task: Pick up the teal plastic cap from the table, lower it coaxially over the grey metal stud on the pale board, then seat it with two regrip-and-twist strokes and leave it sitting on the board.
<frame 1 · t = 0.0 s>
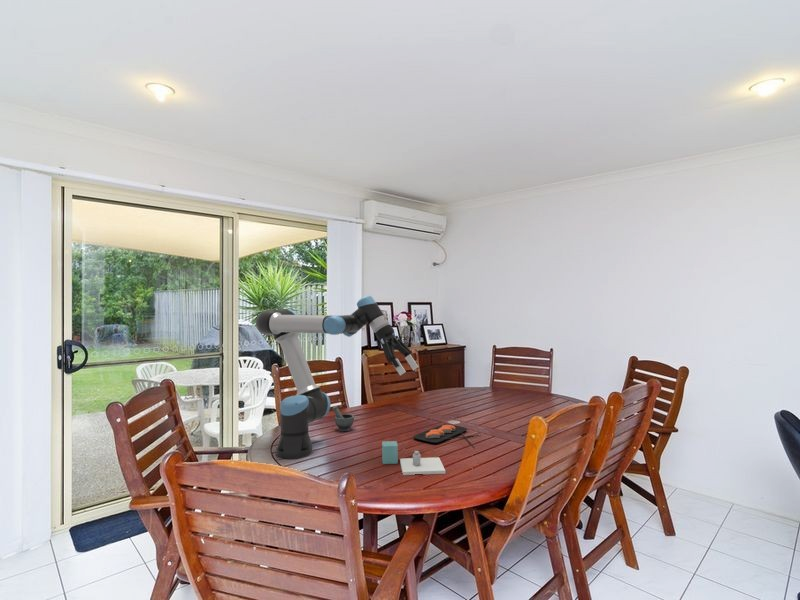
hand: (409, 371, 183), 36 cm above the table, tool tilted 35°, fingers open, 13 cm apart
cap: (389, 461, 180), on the table
mortar and pestle: (343, 430, 223), on the table
stud board: (421, 467, 173), on the table
sushi plate: (454, 439, 209), on the table
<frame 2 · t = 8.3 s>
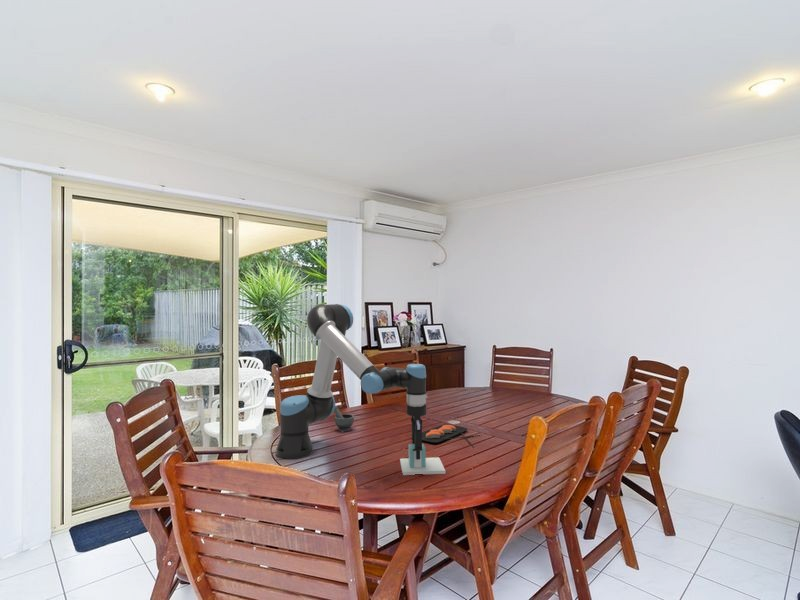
hand: (416, 463, 173), 1 cm above the table, tool pointing down, fingers closed on cap, 6 cm apart
cap: (416, 464, 173), point 1 cm above the table, touching gripper, stud board
everything else where it was.
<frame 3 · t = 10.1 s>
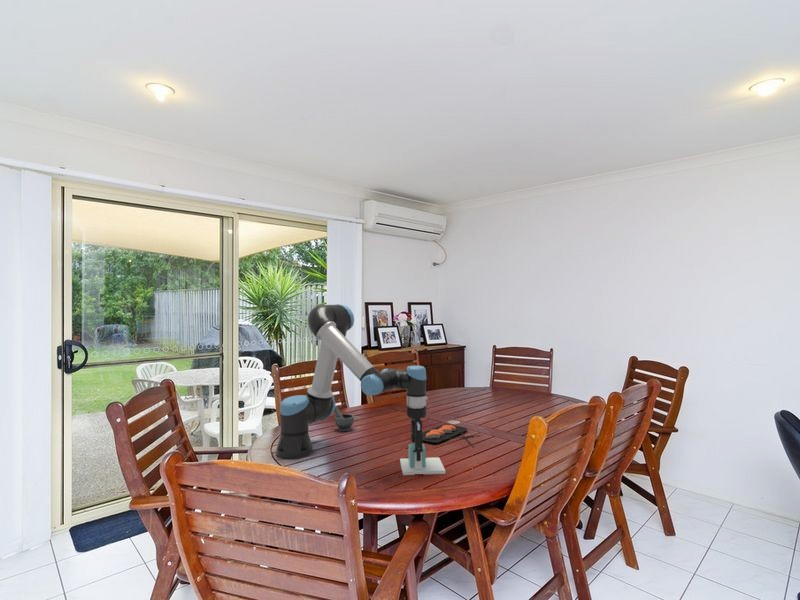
hand: (416, 463, 173), 1 cm above the table, tool pointing down, fingers closed on stud board, 9 cm apart
cap: (416, 464, 173), point 1 cm above the table, touching stud board
everything else where it was.
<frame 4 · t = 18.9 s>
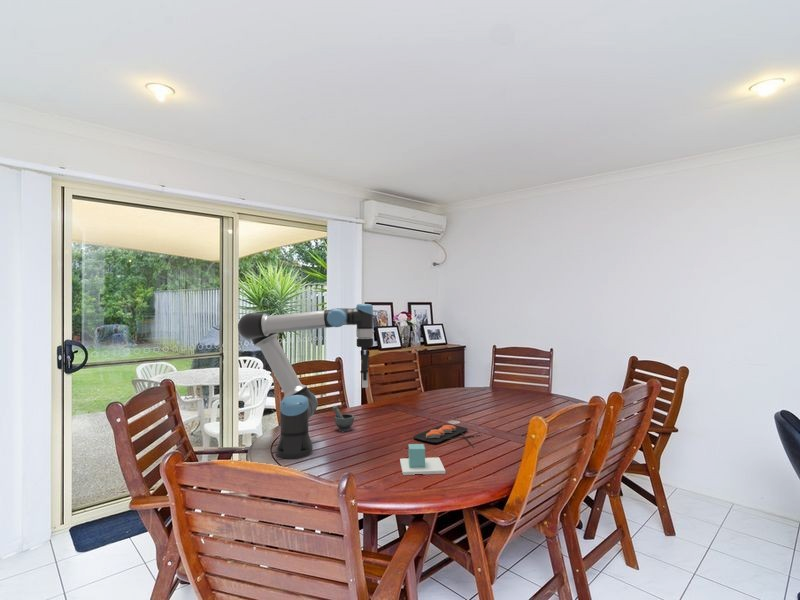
hand: (364, 384, 202), 27 cm above the table, tool pointing down, fingers open, 13 cm apart
nothing on the table moved.
at the end: cap 0.0 cm from the target spot on the stud board, point 1.2 cm above the stud board's base; cap tilted 0°; the gripper is holding nothing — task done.
